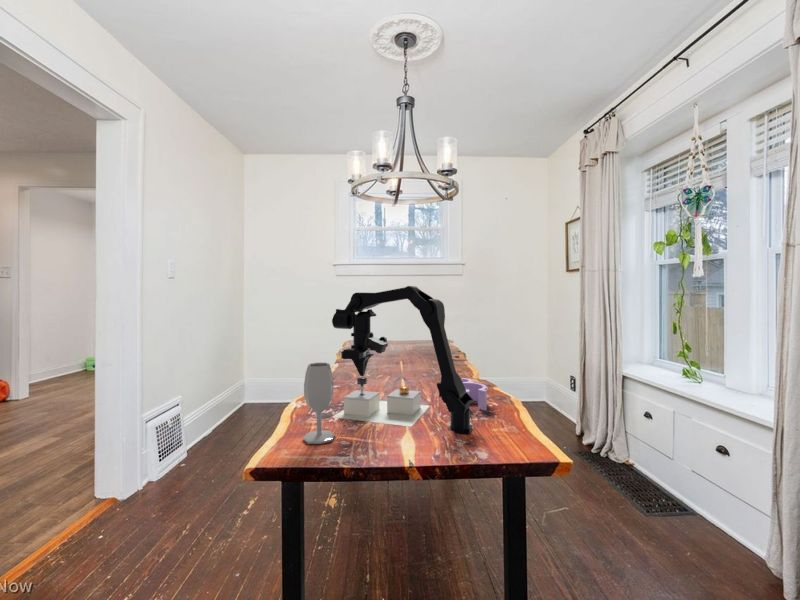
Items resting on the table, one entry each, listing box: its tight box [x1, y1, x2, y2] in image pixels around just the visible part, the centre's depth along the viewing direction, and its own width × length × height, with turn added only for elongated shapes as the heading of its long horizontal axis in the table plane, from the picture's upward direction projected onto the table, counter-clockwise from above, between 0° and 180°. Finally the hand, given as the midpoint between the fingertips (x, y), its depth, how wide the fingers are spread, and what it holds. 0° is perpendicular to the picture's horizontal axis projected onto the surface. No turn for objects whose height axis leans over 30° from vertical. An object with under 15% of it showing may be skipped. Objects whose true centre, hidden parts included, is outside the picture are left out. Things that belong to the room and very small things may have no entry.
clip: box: [461, 377, 488, 411], centre depth 141 cm, size 20×12×7 cm, turn 9°
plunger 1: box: [356, 376, 368, 396], centre depth 129 cm, size 7×7×7 cm
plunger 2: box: [399, 385, 410, 394], centre depth 130 cm, size 7×7×7 cm
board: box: [332, 400, 430, 428], centre depth 130 cm, size 22×27×1 cm
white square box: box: [386, 388, 422, 416], centre depth 131 cm, size 10×9×6 cm
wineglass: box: [303, 362, 336, 445], centre depth 107 cm, size 9×9×21 cm
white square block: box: [343, 389, 380, 417], centre depth 130 cm, size 10×9×6 cm
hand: (362, 375), depth 129 cm, fingers closed
